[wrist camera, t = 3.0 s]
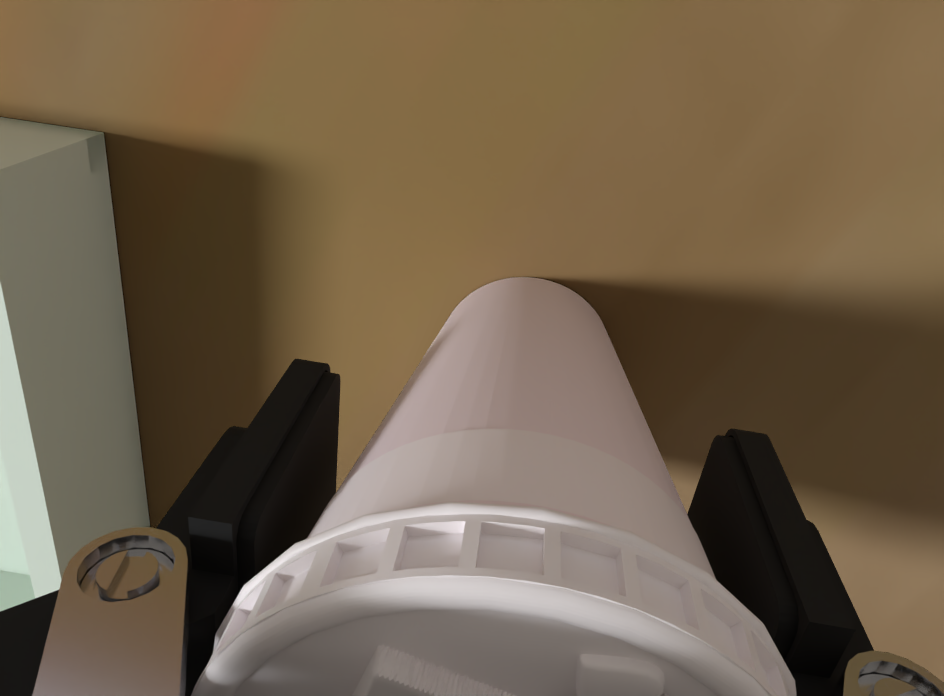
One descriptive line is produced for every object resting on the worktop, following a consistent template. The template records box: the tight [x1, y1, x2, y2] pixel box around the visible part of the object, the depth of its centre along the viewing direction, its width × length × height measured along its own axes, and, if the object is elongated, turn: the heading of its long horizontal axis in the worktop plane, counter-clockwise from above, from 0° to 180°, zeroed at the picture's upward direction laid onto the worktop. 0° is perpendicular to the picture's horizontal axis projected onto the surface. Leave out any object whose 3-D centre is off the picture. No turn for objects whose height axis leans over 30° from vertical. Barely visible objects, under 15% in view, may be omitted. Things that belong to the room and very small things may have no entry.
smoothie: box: [191, 277, 797, 696], centre depth 9 cm, size 6×6×14 cm
